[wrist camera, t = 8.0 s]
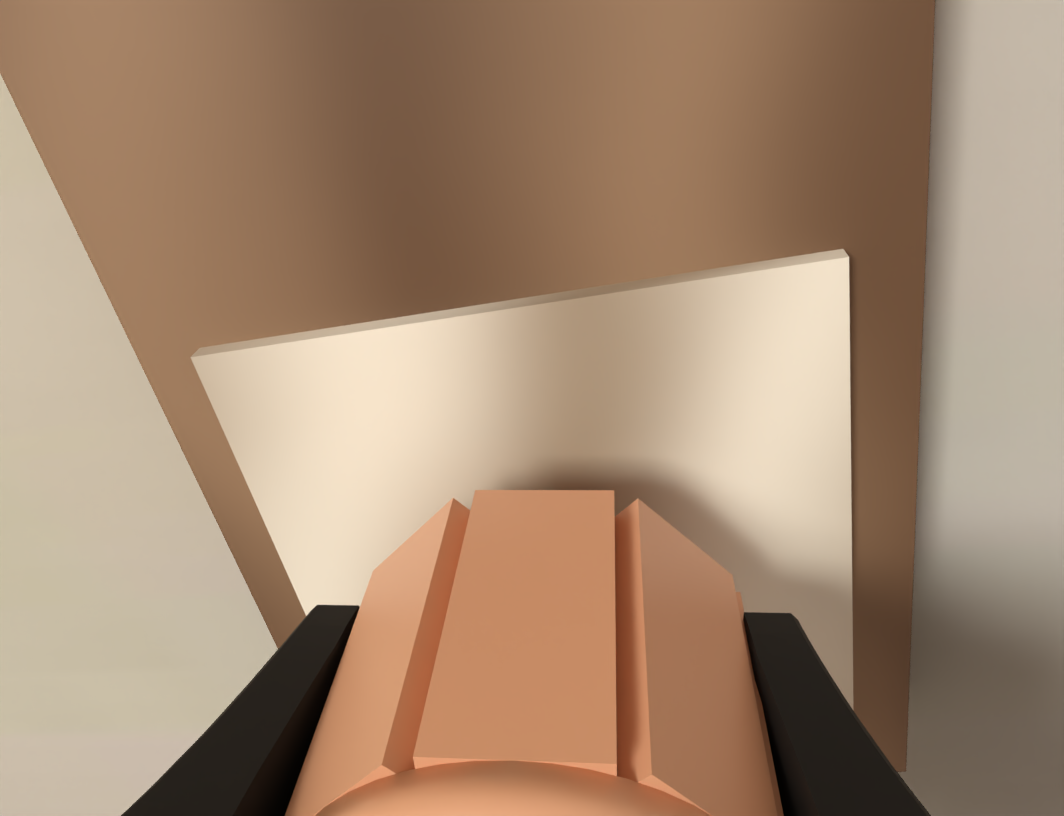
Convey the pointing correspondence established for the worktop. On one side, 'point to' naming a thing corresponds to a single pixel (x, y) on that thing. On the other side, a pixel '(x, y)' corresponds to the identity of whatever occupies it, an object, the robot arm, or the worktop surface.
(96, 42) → the board
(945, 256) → the worktop surface
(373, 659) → the cap
